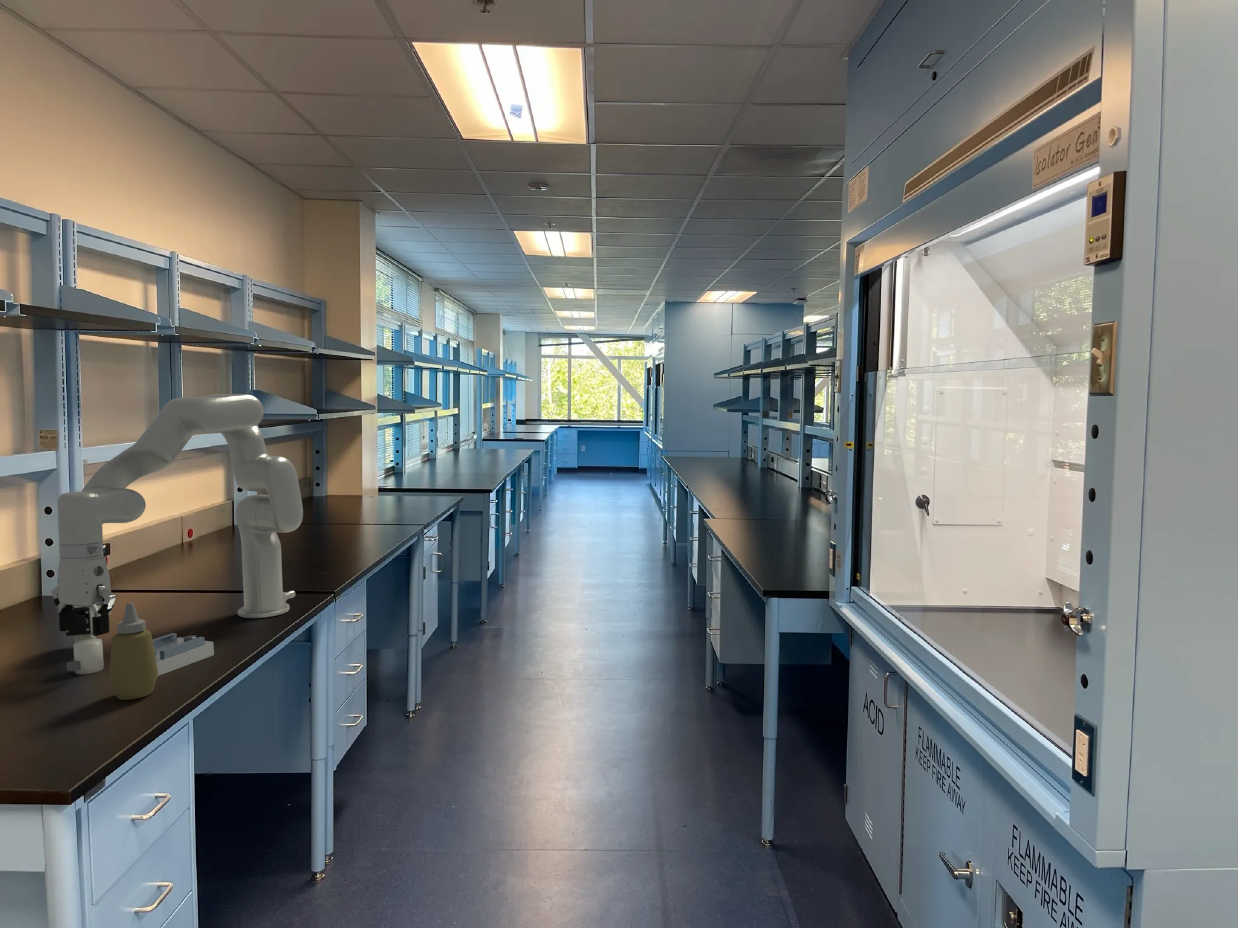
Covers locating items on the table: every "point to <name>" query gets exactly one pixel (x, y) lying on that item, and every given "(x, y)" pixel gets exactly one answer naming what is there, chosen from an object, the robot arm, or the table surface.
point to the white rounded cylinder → (87, 657)
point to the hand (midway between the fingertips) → (84, 631)
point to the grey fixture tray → (180, 651)
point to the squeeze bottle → (132, 658)
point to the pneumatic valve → (83, 624)
